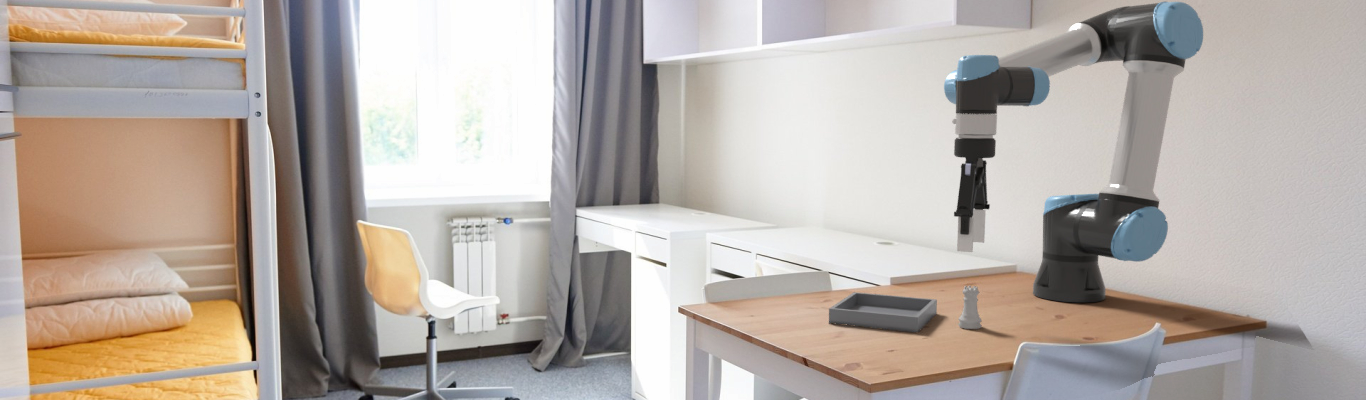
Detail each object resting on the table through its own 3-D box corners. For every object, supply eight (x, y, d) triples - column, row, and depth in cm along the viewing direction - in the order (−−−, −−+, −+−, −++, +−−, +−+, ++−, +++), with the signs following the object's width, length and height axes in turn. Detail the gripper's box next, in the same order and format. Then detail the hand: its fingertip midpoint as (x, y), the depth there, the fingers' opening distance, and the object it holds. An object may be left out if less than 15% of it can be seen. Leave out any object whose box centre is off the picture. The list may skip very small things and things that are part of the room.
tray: (936, 313, 196) (936, 299, 195) (917, 332, 180) (918, 317, 180) (853, 305, 203) (854, 292, 203) (828, 323, 188) (829, 308, 187)
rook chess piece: (969, 331, 181) (970, 290, 180) (953, 326, 185) (954, 286, 184) (986, 328, 183) (988, 287, 182) (970, 323, 187) (971, 283, 186)
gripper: (966, 134, 193) (962, 237, 195) (942, 138, 171) (938, 254, 173) (1004, 135, 189) (1000, 239, 192) (985, 139, 167) (980, 257, 169)
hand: (971, 246), depth 182 cm, fingers open, 13 cm apart
